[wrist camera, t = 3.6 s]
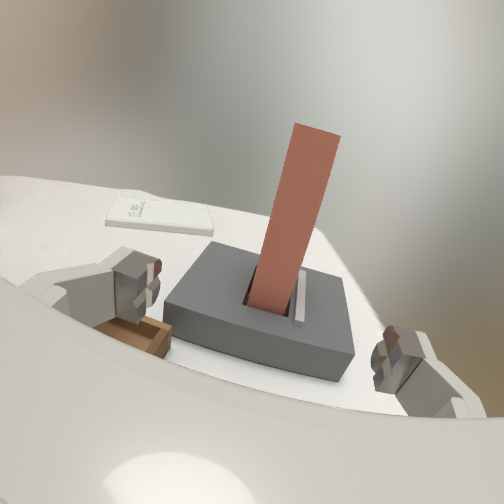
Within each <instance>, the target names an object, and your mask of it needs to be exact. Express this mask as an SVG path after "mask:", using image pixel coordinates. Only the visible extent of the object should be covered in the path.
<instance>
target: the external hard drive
mask: <svg viewBox="0 0 504 504" xmlns="http://www.w3.org/2000/svg"><path fill="white" fill-rule="evenodd" d="M105 226H110V227H120V228H131V229H141V230H151V231H162V232H172V233H182V234H192V235H202V236H213V231H214V228H213V224H212V221H211V217H210V214H209V210H208V207H207V206H204V205H195V204H186V203H176V202H166V201H156V200H145V199H133V198H122V197H117V199H116V201H115V203H114V204H113V206H112V208H111V210H110V211H109V213H108V215H107V217H106V220H105Z"/></svg>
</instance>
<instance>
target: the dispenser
mask: <svg viewBox="0 0 504 504" xmlns="http://www.w3.org/2000/svg"><path fill="white" fill-rule="evenodd" d="M259 258H260V255H259V254H256V253H252V252H249V251H245V250H242V249H238V248H235V247H231V246H228V245H224V244H221V243H217V242H214V241H211V243H210V244H209V245H208V246H207V247H206V249H205V250H204V251H203V252H202V254H201V255H200V256H199V257H198V259H197V260H196V261H195V262H194V264H193V265H192V266H191V267H190V269H189V270H188V271H187V272H186V274H185V275H184V276H183V277H182V279H181V280H180V281H179V283H178V284H177V285H176V286H175V288H174V289H173V290H172V291H171V293H170V294H169V295H168V297H167V298H166V299H165V300H164V310H163V323H166V324H168V325H171V326H172V332H171V335H172V336H175V337H177V338H180V339H183V340H186V341H189V342H192V343H195V344H198V345H201V346H204V347H207V348H210V349H213V350H216V351H219V352H222V353H226V354H229V355H232V356H236V357H239V358H243V359H246V360H250V361H253V362H257V363H260V364H264V365H268V366H272V367H275V368H279V369H283V370H287V371H291V372H296V373H300V374H304V375H309V376H313V377H318V378H322V379H327V380H332V381H337V382H338V381H339V380H340V378H341V377H342V375H343V374H344V372H345V370H346V369H347V367H348V366H349V364H350V362H351V361H352V359H353V357H354V356H355V351H354V345H353V338H352V332H351V326H350V320H349V314H348V308H347V303H346V297H345V292H344V287H343V282H342V278H340V277H336V276H333V275H329V274H326V273H322V272H319V271H315V270H312V269H308V268H305V267H300V270H299V273H298V276H297V279H296V282H295V285H294V287H293V290H292V293H291V296H290V299H289V302H288V304H287V307H286V310H285V313H284V315H283V316H281V315H277V314H274V313H270V312H267V311H263V310H260V309H256V308H253V307H249V306H246V305H245V302H246V299H247V296H248V294H249V292H250V291H251V287H252V284H253V280H254V276H255V273H256V269H257V265H258V261H259Z"/></svg>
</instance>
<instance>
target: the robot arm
mask: <svg viewBox="0 0 504 504" xmlns="http://www.w3.org/2000/svg"><path fill="white" fill-rule="evenodd" d="M161 268H162V262H161V260H160V259H158V258H155V257H152V256H149V255H146V254H144V253H141V252H138V251H135V250H133V249H129V248H126V247H121V248H120V249H118V250H117V251H116V252H114V253H113V254H111V255H110V256H109V257H107V258H106V259H105V260H103V261H102V262H101V263H99V264H95V263H93V264H87V265H82V266H76V267H71V268H65V269H60V270H54V271H49V272H43V273H38V274H36V275H35V276H33V277H32V278H30V279H29V280H28V281H26V282H25V283H23V284H22V285H21V286H19V287H17V286H16V285H14V284H13V283H11V282H9V281H8V280H6V279H5V278H3V277H2V276H0V504H504V417H496V418H487V416H486V413H485V411H484V408H483V406H482V403H481V401H480V399H479V397H478V396H477V395H476V394H474V392H473V391H472V390H470V389H469V388H468V387H467V386H466V385H465V384H464V383H463V382H462V381H461V380H460V379H459V378H458V377H457V376H456V375H455V374H454V373H453V372H452V371H451V370H449V369H448V368H447V367H446V366H445V365H444V364H443V363H442V362H441V361H438V360H437V358H436V356H435V353H434V351H433V349H432V346H431V344H430V342H429V340H428V338H427V335H426V334H425V333H424V332H419V331H414V330H409V329H404V328H399V327H395V326H388V327H387V328H386V330H385V331H384V333H383V340H382V341H381V342H379V343H377V345H376V346H375V348H374V350H373V353H372V356H371V368H372V370H373V371H374V372H375V373H376V374H375V375H374V377H373V380H374V386H375V391H377V392H382V393H388V394H394V395H395V396H396V398H397V399H398V401H399V402H400V404H401V405H402V407H403V408H404V410H405V411H406V413H407V414H408V416H400V415H390V414H381V413H373V412H365V411H358V410H351V409H345V408H339V407H333V406H327V405H322V404H317V403H312V402H307V401H302V400H297V399H293V398H288V397H284V396H280V395H276V394H272V393H268V392H264V391H260V390H256V389H252V388H249V387H245V386H242V385H238V384H235V383H231V382H228V381H225V380H222V379H218V378H215V377H212V376H209V375H206V374H203V373H200V372H197V371H194V370H191V369H188V368H186V367H183V366H180V365H177V364H175V363H172V362H169V361H167V360H164V359H161V358H159V357H156V356H154V355H151V354H149V353H146V352H144V351H141V350H139V349H137V348H134V347H132V346H130V345H127V344H125V343H123V342H121V341H118V340H116V339H114V338H112V337H109V336H107V335H105V334H103V333H101V332H99V331H97V330H95V329H93V328H92V327H94V326H96V325H99V324H101V323H103V322H106V321H108V320H111V319H113V318H115V316H116V317H119V318H121V319H124V320H126V321H129V322H131V323H134V324H138V323H139V321H140V320H141V319H142V318H143V316H144V315H145V314H146V308H148V307H151V306H152V305H153V304H154V303H155V301H156V299H157V297H158V294H159V290H160V280H159V278H158V276H157V275H158V274H159V273H160V272H161Z"/></svg>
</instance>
